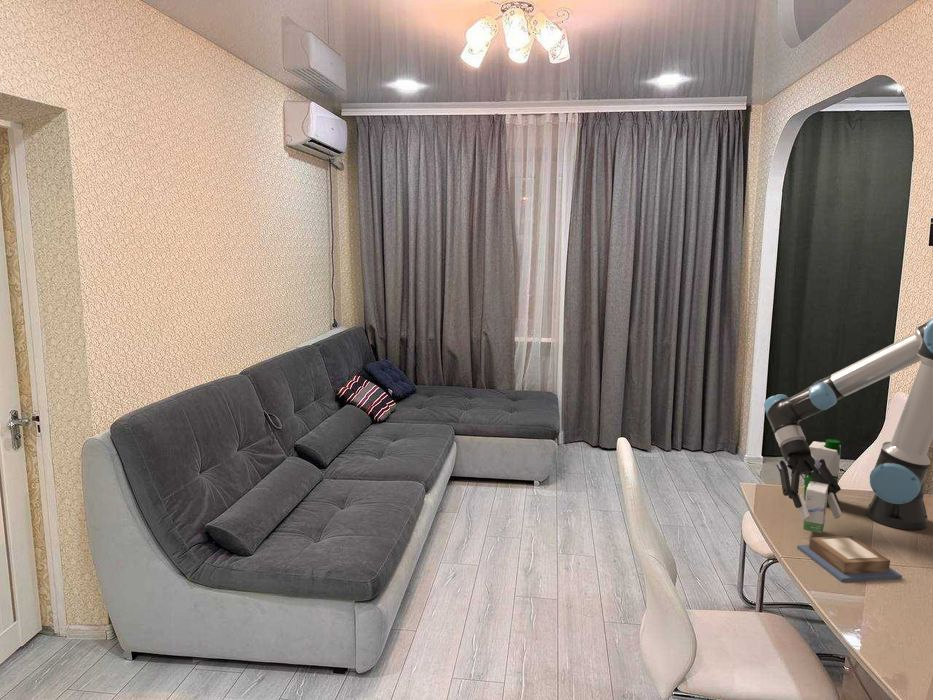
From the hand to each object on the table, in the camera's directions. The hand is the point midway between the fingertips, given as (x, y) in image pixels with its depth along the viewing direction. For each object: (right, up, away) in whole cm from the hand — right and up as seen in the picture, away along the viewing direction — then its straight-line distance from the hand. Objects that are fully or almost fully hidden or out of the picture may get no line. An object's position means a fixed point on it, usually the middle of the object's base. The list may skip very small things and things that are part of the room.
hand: (822, 517), depth 189 cm
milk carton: (+14, -2, +29) cm, 32 cm away
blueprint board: (0, -8, -13) cm, 15 cm away
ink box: (0, -4, +4) cm, 5 cm away
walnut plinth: (0, -8, -13) cm, 15 cm away
